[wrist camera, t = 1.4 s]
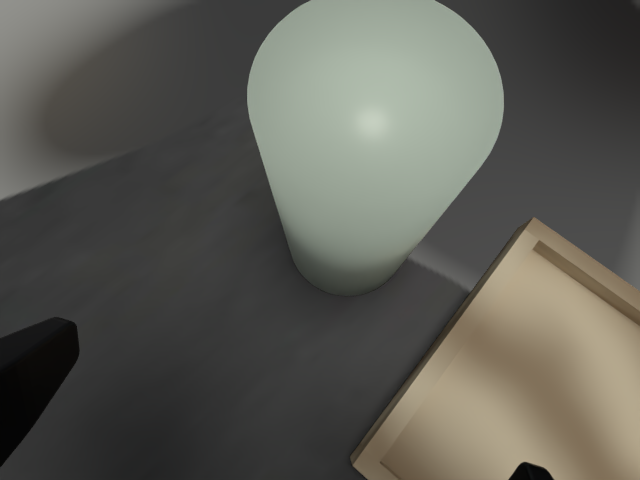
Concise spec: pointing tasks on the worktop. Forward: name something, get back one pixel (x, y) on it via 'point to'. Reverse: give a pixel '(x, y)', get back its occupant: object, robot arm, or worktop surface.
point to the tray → (522, 376)
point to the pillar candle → (369, 130)
